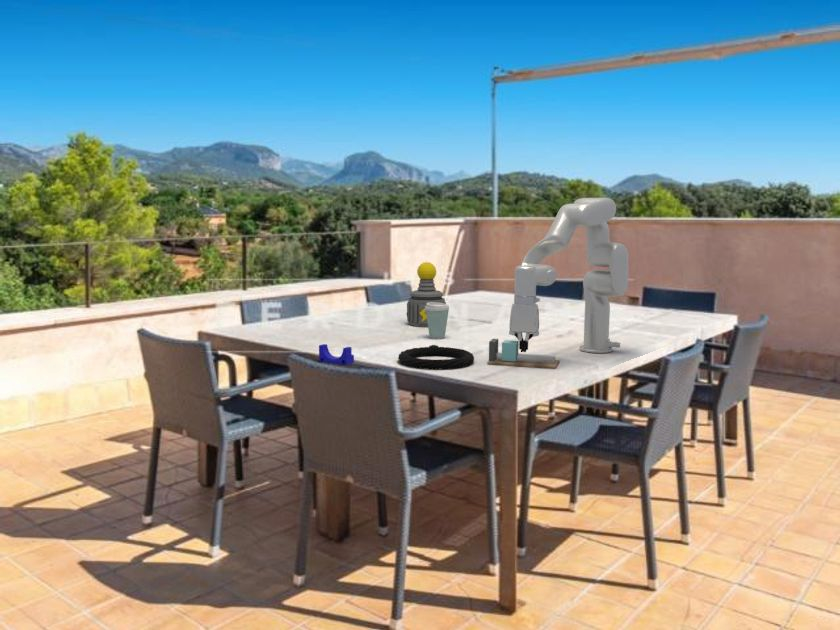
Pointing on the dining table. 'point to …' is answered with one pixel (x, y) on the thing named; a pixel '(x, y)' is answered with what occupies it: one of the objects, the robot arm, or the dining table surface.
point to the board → (524, 364)
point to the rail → (530, 358)
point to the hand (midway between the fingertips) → (523, 351)
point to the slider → (509, 350)
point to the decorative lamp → (423, 296)
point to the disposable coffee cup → (437, 319)
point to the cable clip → (327, 357)
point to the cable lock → (460, 361)
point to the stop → (493, 349)
